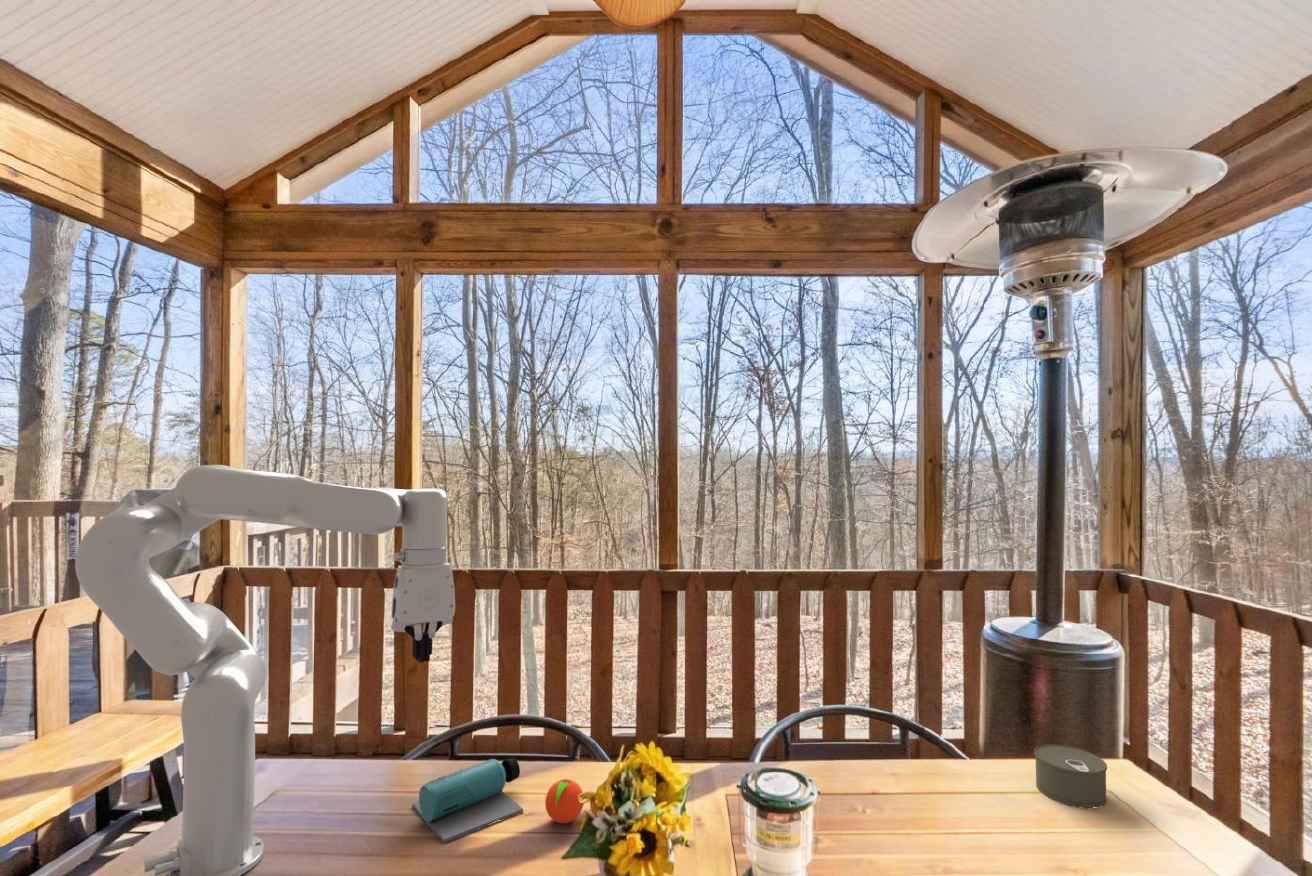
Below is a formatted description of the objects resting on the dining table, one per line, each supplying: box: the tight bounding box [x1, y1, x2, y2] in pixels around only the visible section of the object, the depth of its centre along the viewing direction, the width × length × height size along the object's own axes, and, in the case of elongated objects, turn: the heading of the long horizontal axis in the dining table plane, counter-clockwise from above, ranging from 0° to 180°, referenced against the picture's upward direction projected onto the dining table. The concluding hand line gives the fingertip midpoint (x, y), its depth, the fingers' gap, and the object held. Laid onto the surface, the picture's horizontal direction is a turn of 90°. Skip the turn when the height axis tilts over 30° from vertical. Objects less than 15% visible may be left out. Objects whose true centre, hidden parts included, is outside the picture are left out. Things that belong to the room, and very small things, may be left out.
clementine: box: [544, 778, 585, 824], centre depth 115 cm, size 8×7×7 cm
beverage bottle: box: [418, 757, 521, 822], centre depth 120 cm, size 6×7×20 cm
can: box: [1034, 743, 1108, 809], centre depth 126 cm, size 12×12×7 cm
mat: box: [411, 790, 524, 844], centre depth 119 cm, size 15×15×1 cm
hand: (422, 660), depth 115 cm, fingers closed
